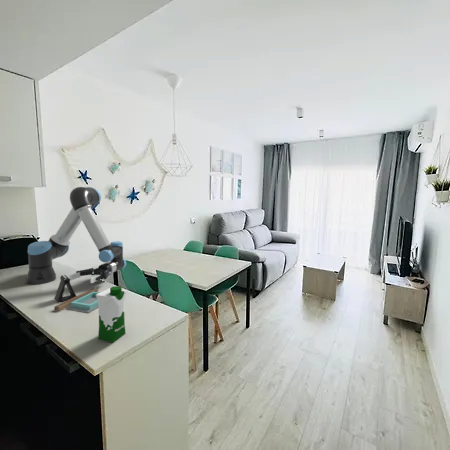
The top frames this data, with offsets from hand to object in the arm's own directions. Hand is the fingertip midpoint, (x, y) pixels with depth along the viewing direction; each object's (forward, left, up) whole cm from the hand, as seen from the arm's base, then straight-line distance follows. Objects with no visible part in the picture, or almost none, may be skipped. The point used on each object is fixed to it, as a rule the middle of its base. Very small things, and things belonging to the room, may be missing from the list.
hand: (80, 279), depth 140 cm
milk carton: (+45, -32, -7) cm, 55 cm away
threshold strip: (+7, -10, -7) cm, 14 cm away
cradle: (+16, -10, -7) cm, 20 cm away
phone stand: (0, -10, -7) cm, 12 cm away
